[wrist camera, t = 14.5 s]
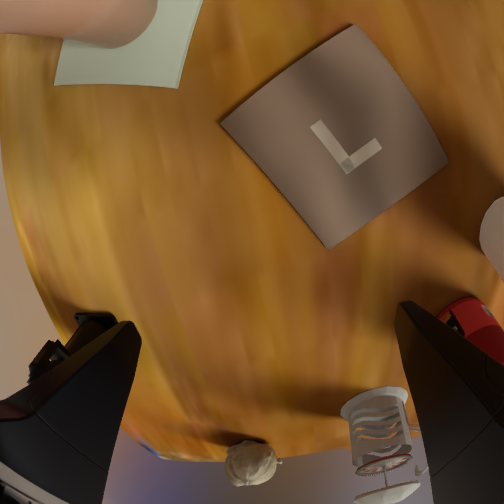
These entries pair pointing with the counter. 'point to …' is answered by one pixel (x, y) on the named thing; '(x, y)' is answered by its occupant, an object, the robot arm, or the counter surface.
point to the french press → (380, 440)
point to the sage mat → (136, 52)
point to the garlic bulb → (250, 463)
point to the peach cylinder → (79, 20)
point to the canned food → (476, 326)
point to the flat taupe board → (339, 135)
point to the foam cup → (494, 235)
